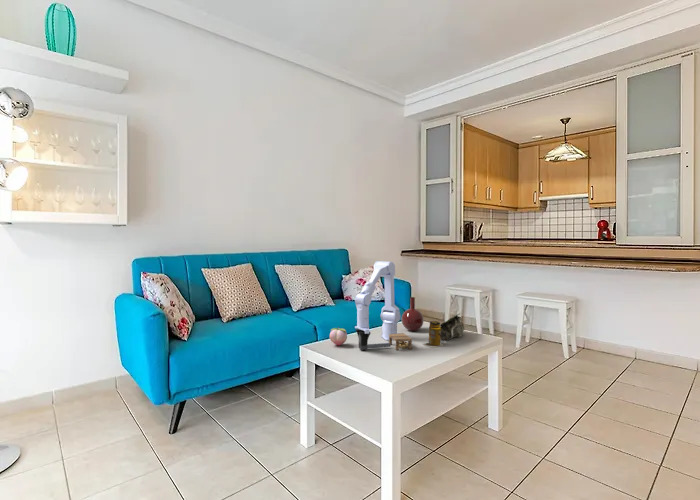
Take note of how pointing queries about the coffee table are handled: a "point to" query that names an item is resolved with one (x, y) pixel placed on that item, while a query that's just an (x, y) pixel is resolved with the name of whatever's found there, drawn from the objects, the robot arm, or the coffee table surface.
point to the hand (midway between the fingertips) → (363, 344)
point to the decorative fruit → (338, 336)
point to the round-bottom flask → (412, 317)
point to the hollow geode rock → (451, 328)
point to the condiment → (434, 335)
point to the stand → (400, 339)
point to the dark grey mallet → (372, 345)
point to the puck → (403, 344)
